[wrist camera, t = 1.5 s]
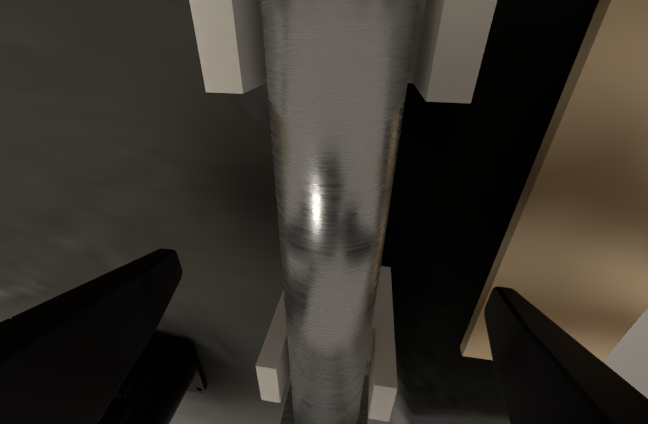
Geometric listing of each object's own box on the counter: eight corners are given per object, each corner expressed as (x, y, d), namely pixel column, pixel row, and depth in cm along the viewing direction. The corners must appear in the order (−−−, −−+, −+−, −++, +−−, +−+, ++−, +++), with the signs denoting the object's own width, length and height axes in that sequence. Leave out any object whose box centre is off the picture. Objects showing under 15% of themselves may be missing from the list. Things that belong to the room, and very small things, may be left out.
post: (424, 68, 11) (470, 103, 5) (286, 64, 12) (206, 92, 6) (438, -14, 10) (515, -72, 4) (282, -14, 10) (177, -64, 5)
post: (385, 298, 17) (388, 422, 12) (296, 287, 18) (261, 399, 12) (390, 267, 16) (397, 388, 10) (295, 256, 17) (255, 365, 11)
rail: (366, 388, 16) (363, 480, 12) (296, 377, 16) (276, 463, 13) (469, -258, 5) (623, -742, 2) (257, -237, 6) (98, -597, 2)
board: (585, 364, 17) (591, 374, 17) (459, 346, 18) (462, 355, 18) (1035, -204, 6) (1091, -224, 6) (672, -181, 7) (693, -196, 7)
